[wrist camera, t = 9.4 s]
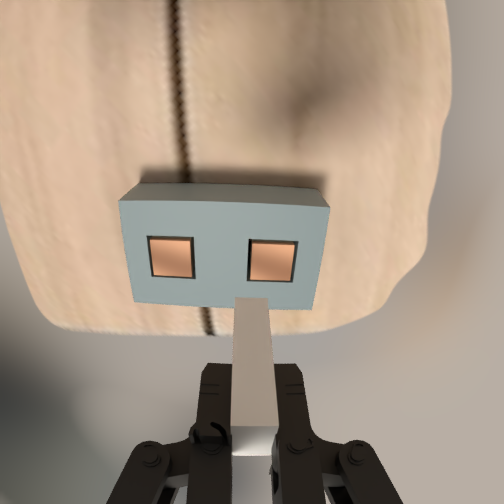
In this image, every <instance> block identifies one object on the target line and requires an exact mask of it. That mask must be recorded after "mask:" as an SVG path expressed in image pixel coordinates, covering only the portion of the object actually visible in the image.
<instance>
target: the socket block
mask: <svg viewBox="0 0 504 504" xmlns="http://www.w3.org/2000/svg"><path fill="white" fill-rule="evenodd" d="M118 202H119V211H120V219H121V227H122V234H123V241H124V248H125V254H126V260H127V266H128V272H129V277H130V283H131V288H132V293H133V298H134V302H140V303H152V304H165V305H180V306H197V307H216V308H234V307H235V297H244V298H267V299H268V309H277V310H312V306H313V301H314V296H315V291H316V286H317V281H318V276H319V271H320V266H321V260H322V255H323V249H324V243H325V237H326V231H327V225H328V219H329V213H330V206H329V205H328V204H327V202H326V201H325V199H324V198H323V197H322V195H321V194H320V193H319V191H318V190H317V189H310V188H296V187H281V186H263V185H240V184H206V183H138V184H137V185H136V186H135V187H134V188H132V189H131V190H130V191H129V192H128V193H127V194H125V195H124V196H123V197H122V198H121V199H120V200H119V201H118ZM152 236H181V237H194V251H195V267H194V270H193V274H192V277H182V276H163V275H154V271H153V263H152V255H151V246H150V239H151V237H152ZM249 239H263V240H287V241H293V242H294V245H295V247H294V254H293V262H292V269H291V277H290V281H284V280H252V279H250V253H248V240H249Z"/></svg>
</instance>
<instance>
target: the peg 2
mask: <svg viewBox="0 0 504 504" xmlns="http://www.w3.org/2000/svg"><path fill="white" fill-rule="evenodd" d="M294 247H295V245H294V242H293V241H287V240H263V239H251V243H250V279H252V280H284V281H290V277H291V269H292V262H293V254H294Z"/></svg>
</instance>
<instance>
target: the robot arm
mask: <svg viewBox="0 0 504 504" xmlns="http://www.w3.org/2000/svg"><path fill="white" fill-rule="evenodd" d="M271 453H272V465H271V468H270V472H269V474H271V481H272V500H273V504H326V500H325V493H324V490H325V492H326V494H327V496H328V499H329V501H330V503H331V504H403V502H402V500H401V499H400V497H399V495H398V493H397V491H396V489H395V488H394V486H393V484H392V482H391V480H390V479H389V477H388V475H387V473H386V471H385V469H384V467H383V466H382V464H381V462H380V460H379V458H378V457H377V455H376V453H375V451H374V449H373V448H372V447H371V446H370V444H368V443H366V442H365V441H361V440H353V441H349V442H348V443H346V444H339V443H333V442H328V441H325V440H322V439H321V438H319V437H318V436H316V435H315V433H314V432H313V430H312V428H311V425H310V419H309V412H308V406H307V400H306V395H305V388H304V381H303V375H302V372H301V371H300V369H299V368H298V366H297V365H296V364H274V363H273V352H272V341H271V330H270V319H269V309H268V299H267V298H244V297H235V307H234V332H233V362H232V364H220V363H208V364H207V365H206V367H205V368H204V370H203V371H202V374H201V383H200V392H199V400H198V409H197V419H196V423H195V424H194V425H193V426H192V427H191V428H190V431H189V437H188V438H187V439H185V440H183V441H181V442H177V443H171V444H166V445H162V444H160V443H158V442H154V441H146V442H142V443H140V444H138V445H137V446H136V447H135V448H134V450H133V451H132V453H131V455H130V457H129V459H128V461H127V463H126V465H125V467H124V469H123V471H122V473H121V475H120V477H119V479H118V481H117V483H116V485H115V487H114V489H113V491H112V493H111V495H110V497H109V499H108V501H107V503H106V504H173V503H174V500H175V498H176V495H177V493H178V490H179V488H180V487H184V486H188V488H187V503H186V504H232V455H242V456H245V455H246V456H249V455H250V456H252V455H255V456H257V455H258V456H260V455H271Z"/></svg>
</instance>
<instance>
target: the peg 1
mask: <svg viewBox="0 0 504 504" xmlns="http://www.w3.org/2000/svg"><path fill="white" fill-rule="evenodd" d="M150 246H151V255H152V263H153V271H154V275H163V276H182V277H192V274H193V270H194V267H195V251H194V237H181V236H152V237H151V239H150Z"/></svg>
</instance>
